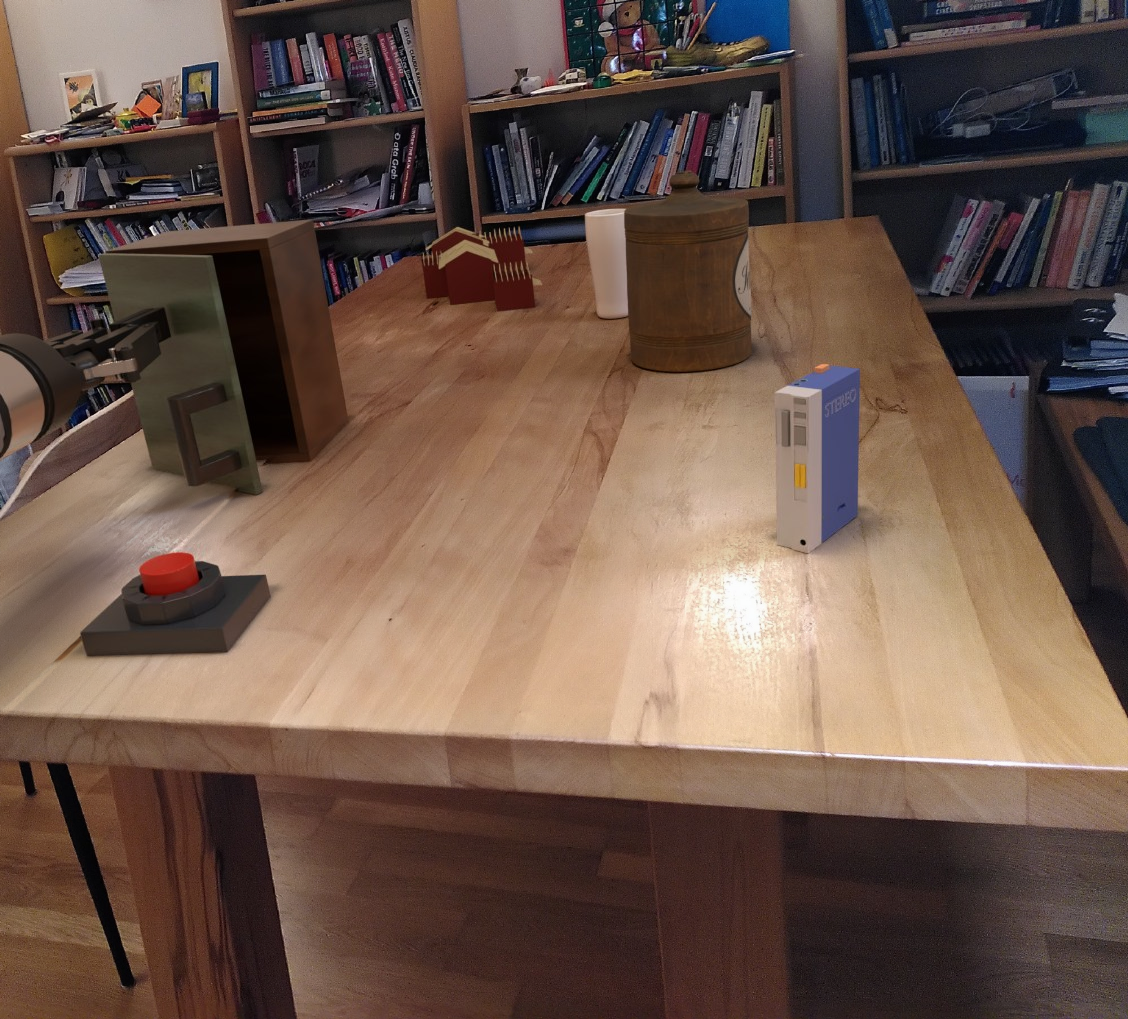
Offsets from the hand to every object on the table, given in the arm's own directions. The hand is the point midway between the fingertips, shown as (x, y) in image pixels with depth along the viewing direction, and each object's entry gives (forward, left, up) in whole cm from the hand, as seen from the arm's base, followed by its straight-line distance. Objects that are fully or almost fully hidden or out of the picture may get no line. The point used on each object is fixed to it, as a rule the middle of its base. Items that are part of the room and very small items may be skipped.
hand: (158, 322), depth 94 cm
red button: (+11, -28, -13) cm, 33 cm away
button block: (+11, -28, -16) cm, 34 cm away
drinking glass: (+36, +65, -16) cm, 76 cm away
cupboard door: (-1, -1, -16) cm, 16 cm away
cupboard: (+1, +12, -16) cm, 20 cm away
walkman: (+56, -16, -16) cm, 61 cm away
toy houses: (+11, +95, -16) cm, 97 cm away
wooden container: (+47, +38, -16) cm, 63 cm away
